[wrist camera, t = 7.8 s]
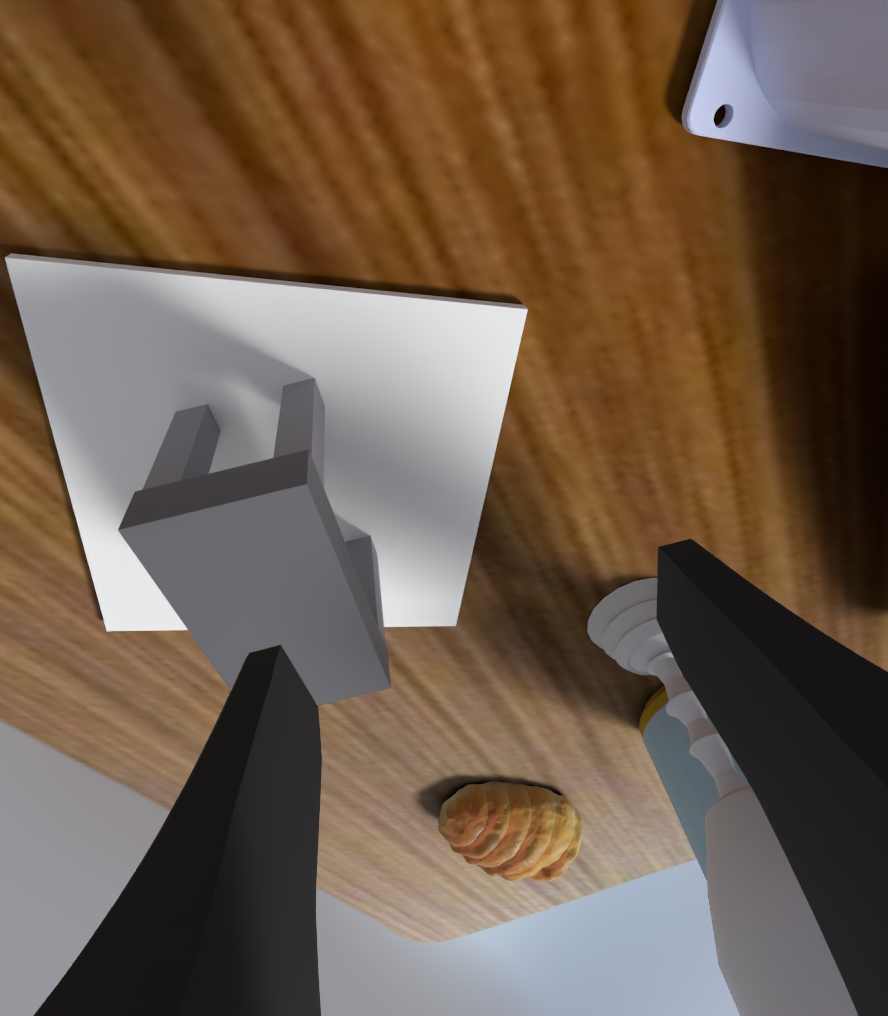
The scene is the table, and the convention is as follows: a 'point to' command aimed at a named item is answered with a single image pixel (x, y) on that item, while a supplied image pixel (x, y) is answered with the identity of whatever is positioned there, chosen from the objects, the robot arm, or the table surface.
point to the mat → (273, 409)
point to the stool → (262, 553)
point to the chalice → (733, 842)
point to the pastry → (512, 829)
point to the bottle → (680, 770)
